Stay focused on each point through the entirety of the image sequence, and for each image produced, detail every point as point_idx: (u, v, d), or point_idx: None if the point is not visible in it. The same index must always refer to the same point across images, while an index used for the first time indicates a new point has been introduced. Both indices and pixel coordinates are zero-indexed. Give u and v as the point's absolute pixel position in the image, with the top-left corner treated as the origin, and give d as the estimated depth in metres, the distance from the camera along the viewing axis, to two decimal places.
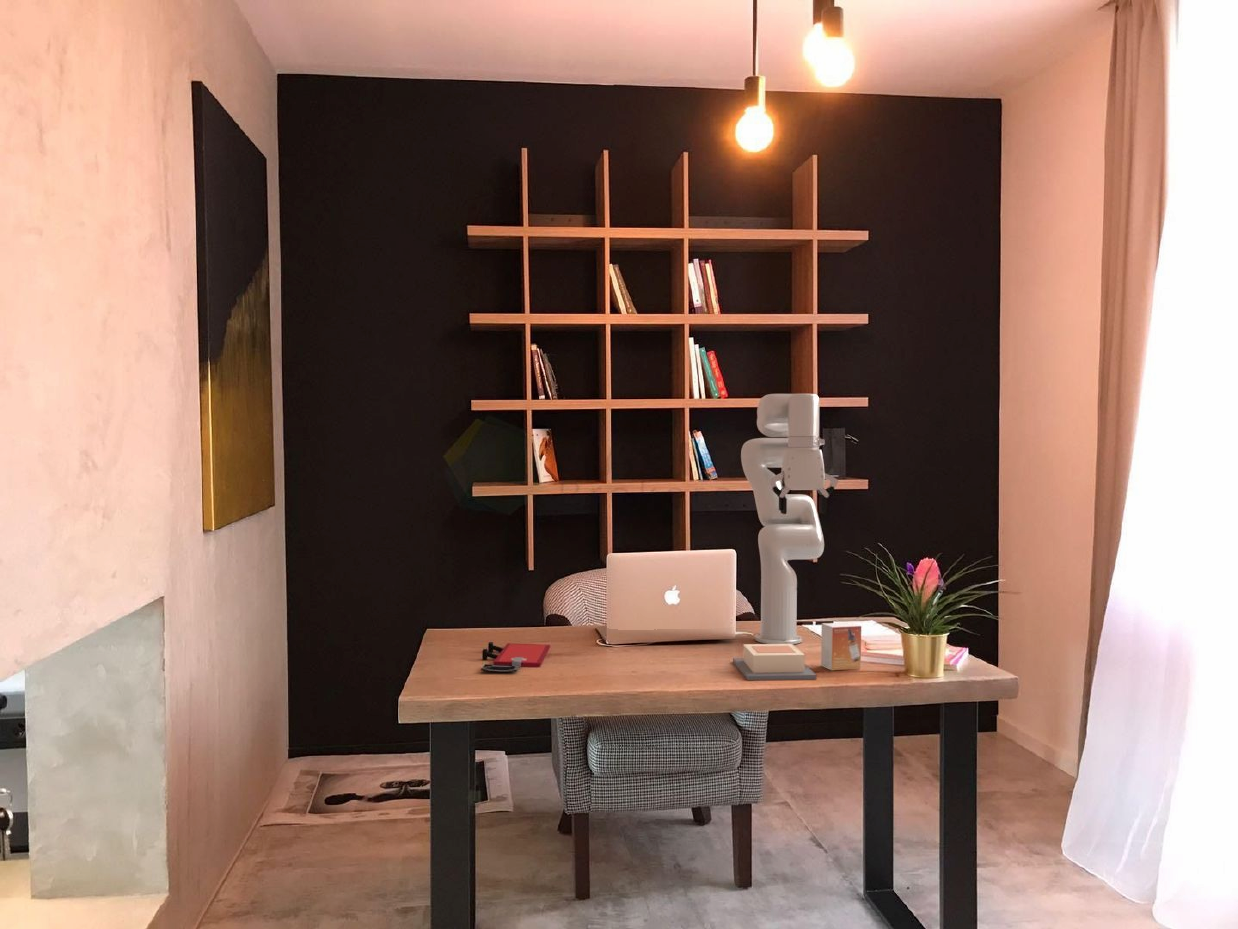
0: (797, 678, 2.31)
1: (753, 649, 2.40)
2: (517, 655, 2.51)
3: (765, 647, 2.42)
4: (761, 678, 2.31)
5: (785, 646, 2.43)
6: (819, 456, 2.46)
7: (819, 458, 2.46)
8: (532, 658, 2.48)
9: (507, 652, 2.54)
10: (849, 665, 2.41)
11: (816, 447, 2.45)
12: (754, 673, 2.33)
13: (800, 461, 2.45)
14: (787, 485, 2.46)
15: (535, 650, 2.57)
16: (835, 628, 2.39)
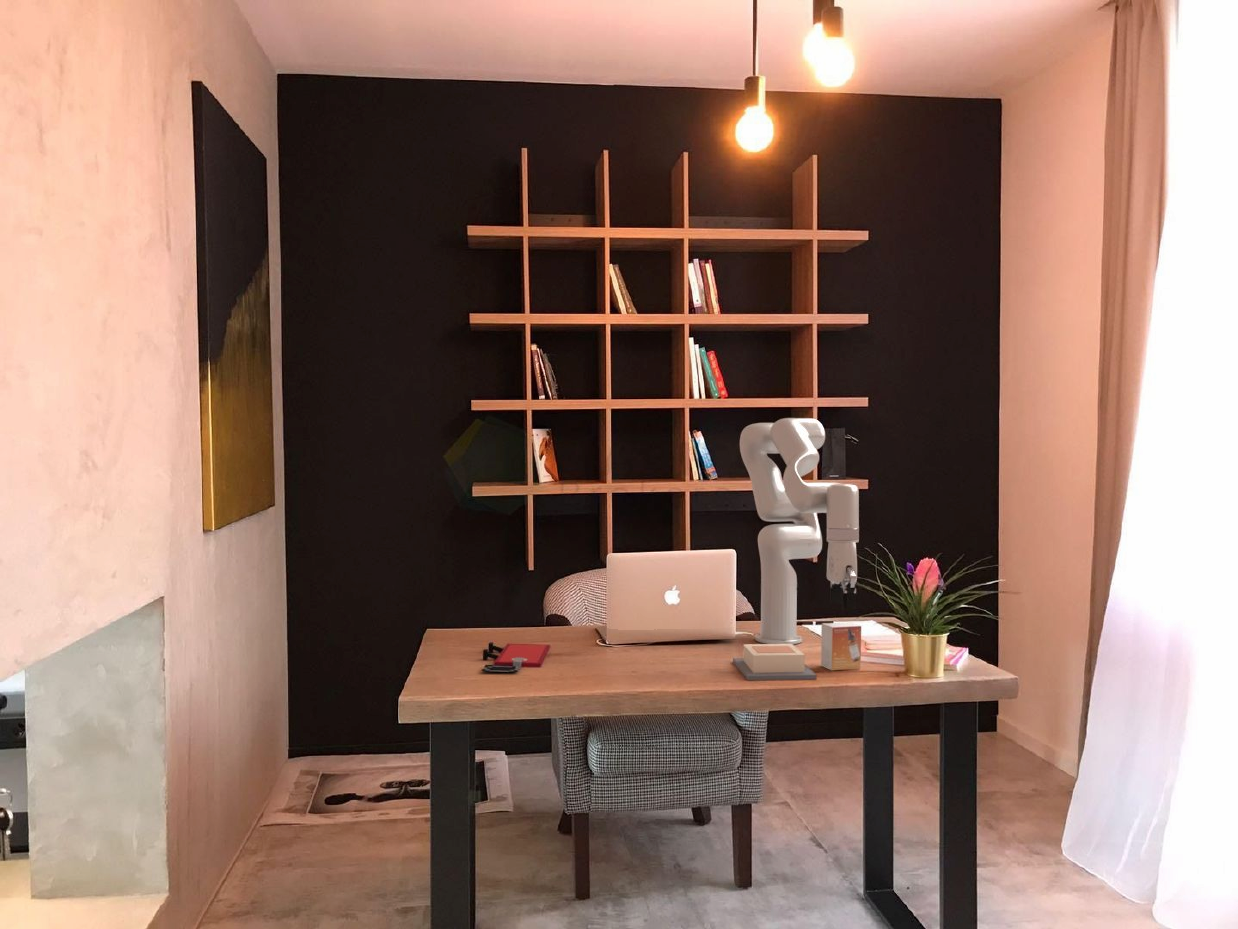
0: (797, 678, 2.31)
1: (753, 649, 2.40)
2: (517, 655, 2.51)
3: (765, 647, 2.42)
4: (761, 678, 2.31)
5: (785, 646, 2.43)
6: None
7: None
8: (533, 658, 2.48)
9: (507, 652, 2.54)
10: (849, 665, 2.41)
11: None
12: (754, 673, 2.33)
13: None
14: (856, 579, 2.38)
15: (535, 650, 2.57)
16: (835, 628, 2.39)
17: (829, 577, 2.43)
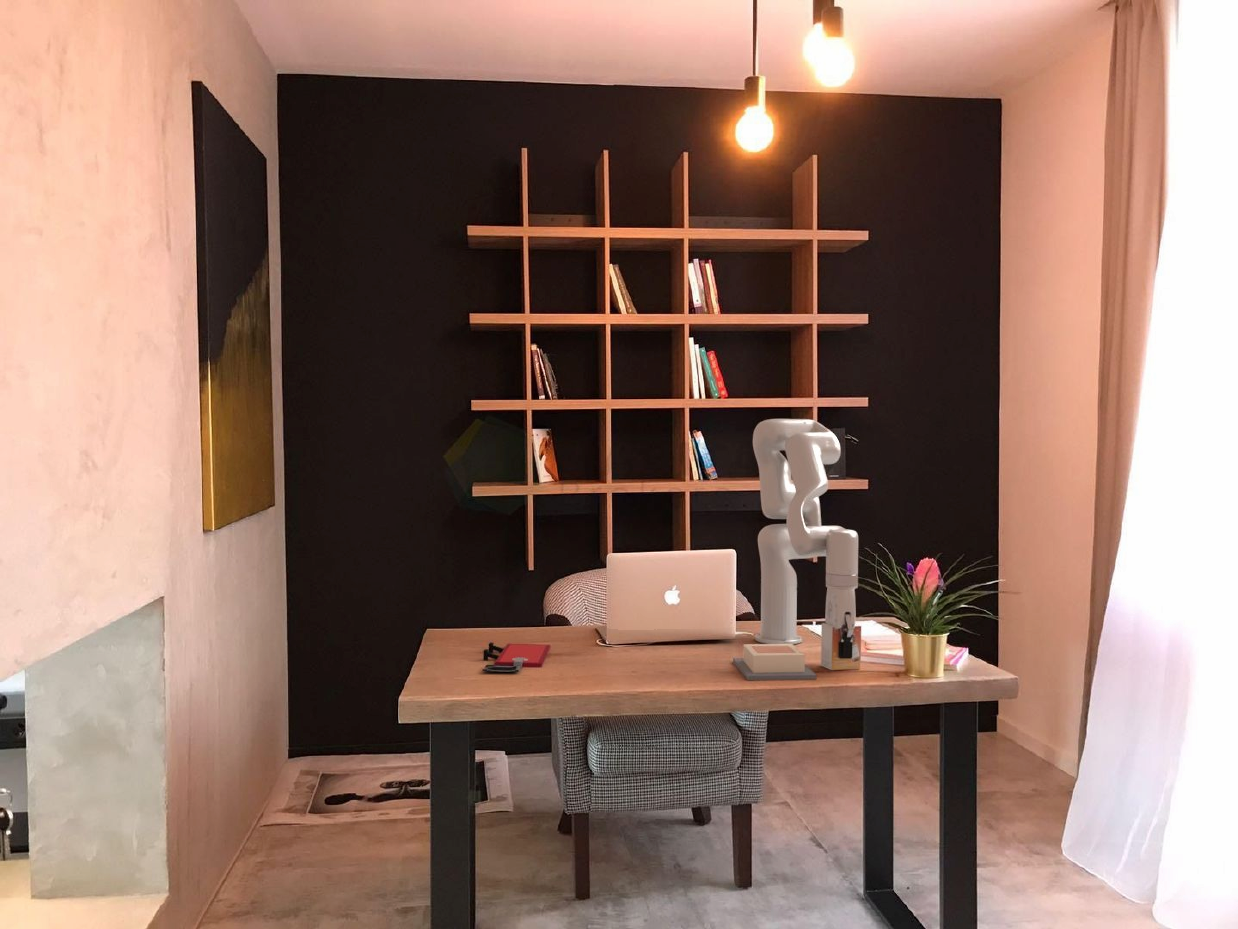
0: (797, 678, 2.31)
1: (753, 649, 2.40)
2: (518, 655, 2.51)
3: (765, 647, 2.42)
4: (761, 678, 2.31)
5: (785, 646, 2.43)
6: None
7: None
8: (533, 658, 2.48)
9: (508, 652, 2.54)
10: (849, 665, 2.41)
11: None
12: (754, 673, 2.33)
13: None
14: (854, 626, 2.39)
15: (536, 650, 2.57)
16: None
17: (828, 621, 2.44)
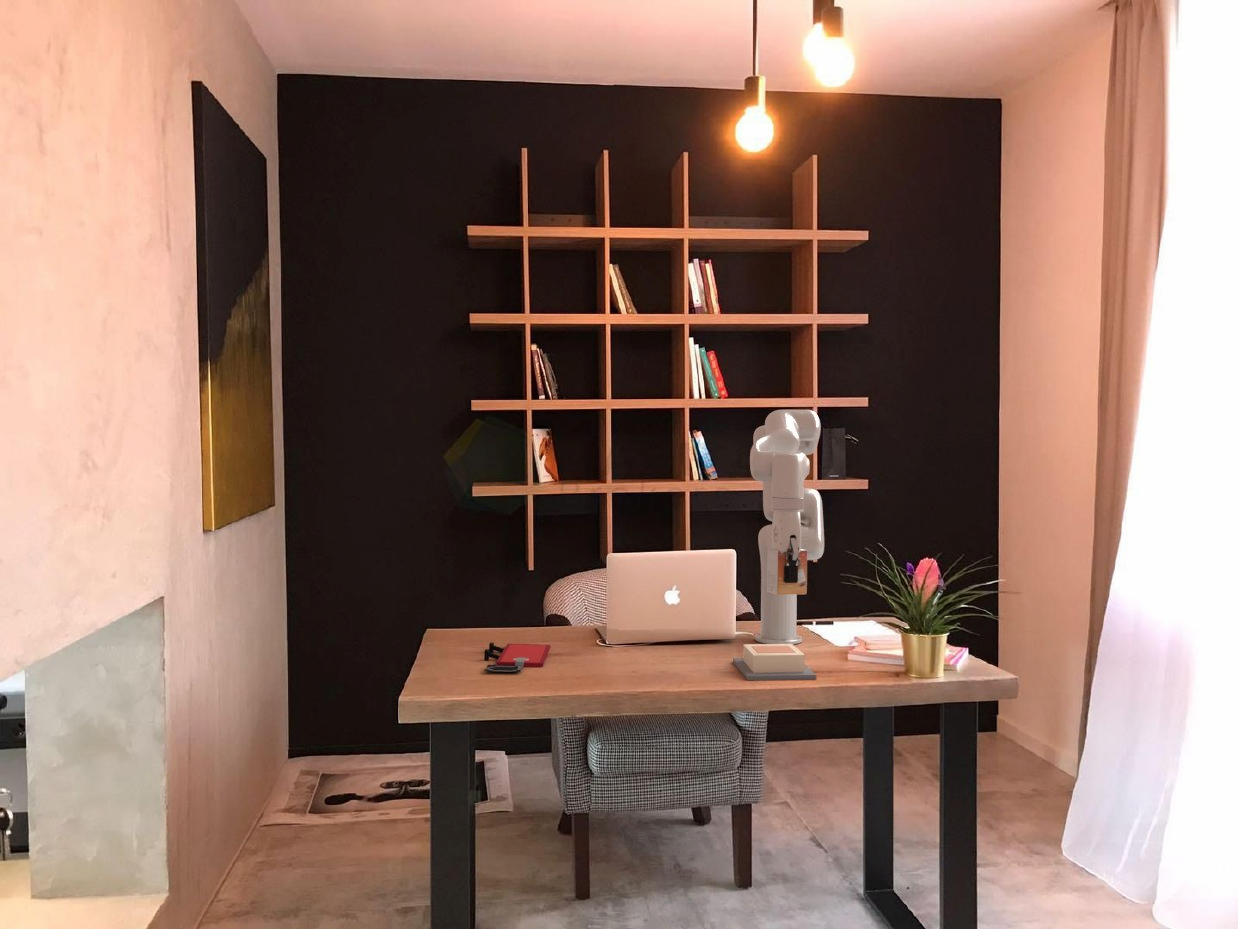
0: (797, 678, 2.31)
1: (753, 649, 2.40)
2: (519, 655, 2.51)
3: (765, 647, 2.42)
4: (761, 678, 2.31)
5: (785, 646, 2.43)
6: None
7: None
8: (534, 658, 2.48)
9: (508, 652, 2.54)
10: (795, 590, 2.37)
11: None
12: (754, 673, 2.33)
13: None
14: (800, 549, 2.35)
15: (536, 650, 2.57)
16: None
17: (773, 547, 2.41)
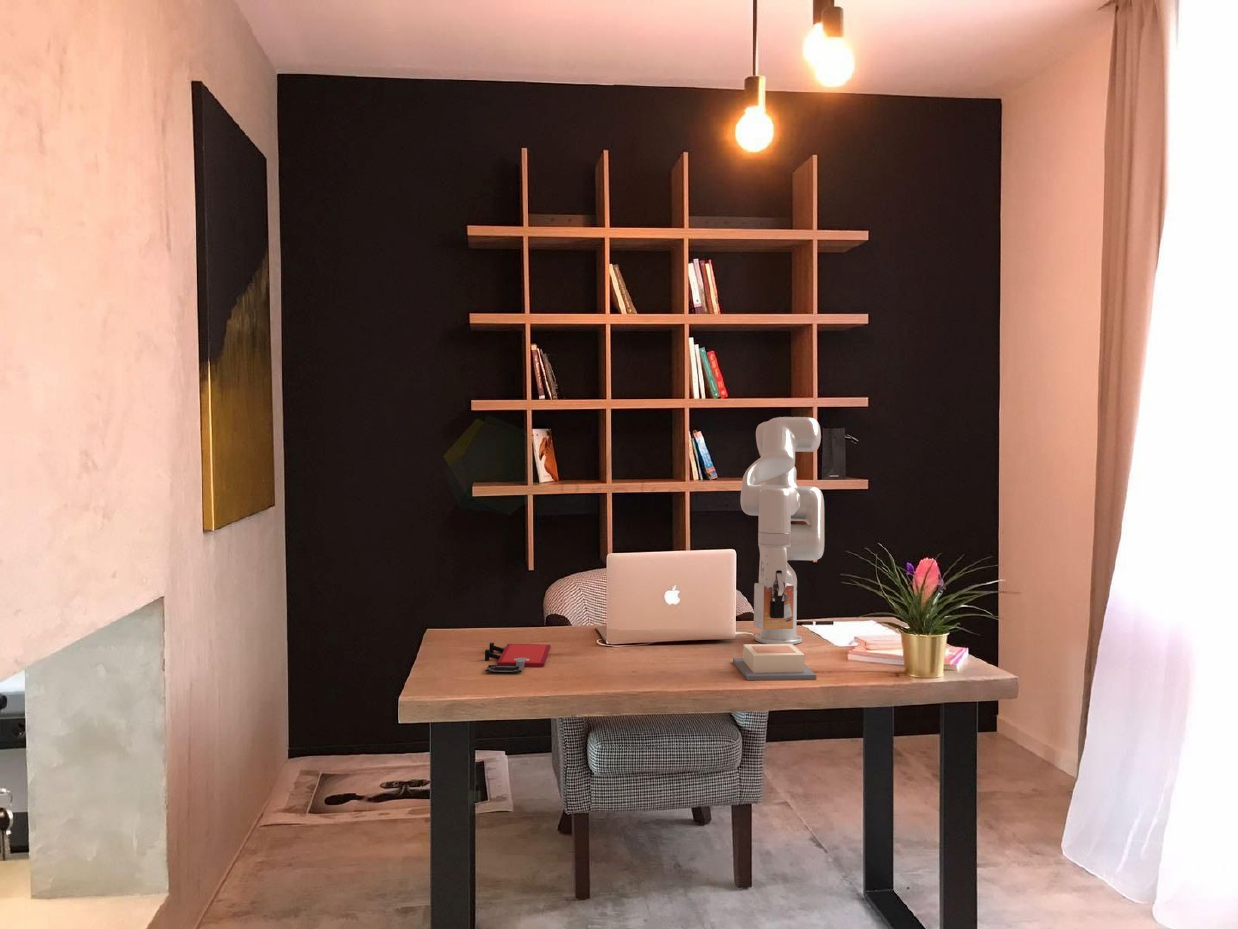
0: (797, 678, 2.31)
1: (753, 649, 2.40)
2: (519, 655, 2.51)
3: (765, 647, 2.42)
4: (761, 678, 2.31)
5: (785, 646, 2.43)
6: None
7: None
8: (535, 658, 2.48)
9: (509, 652, 2.54)
10: (781, 625, 2.37)
11: None
12: (754, 673, 2.33)
13: None
14: (786, 585, 2.35)
15: (536, 650, 2.57)
16: None
17: (760, 581, 2.41)
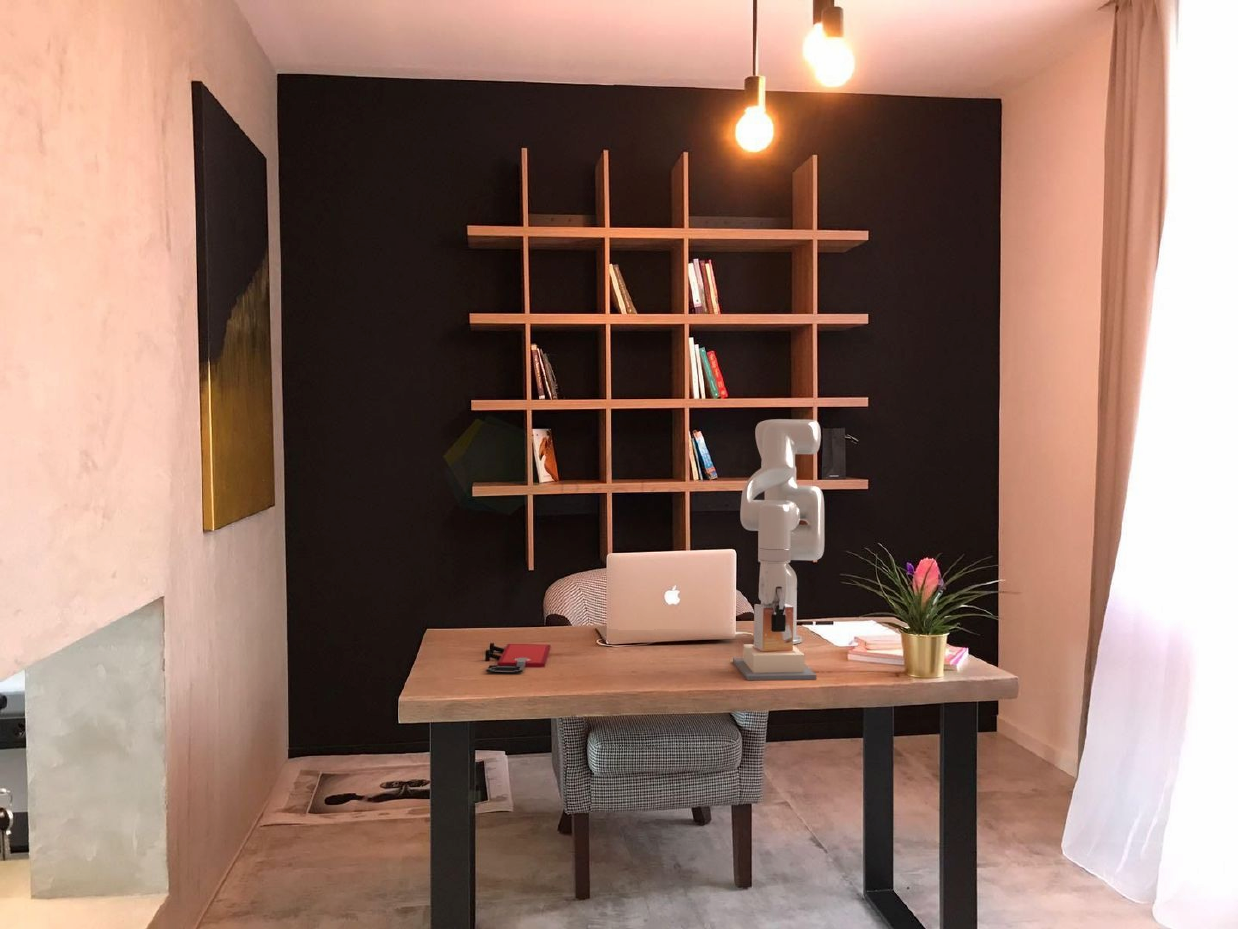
0: (797, 678, 2.31)
1: (753, 649, 2.40)
2: (520, 655, 2.51)
3: None
4: (761, 678, 2.31)
5: None
6: None
7: None
8: (536, 658, 2.48)
9: (509, 653, 2.54)
10: (781, 646, 2.37)
11: None
12: (754, 673, 2.33)
13: None
14: (786, 601, 2.35)
15: (537, 650, 2.57)
16: (766, 608, 2.36)
17: (760, 597, 2.41)
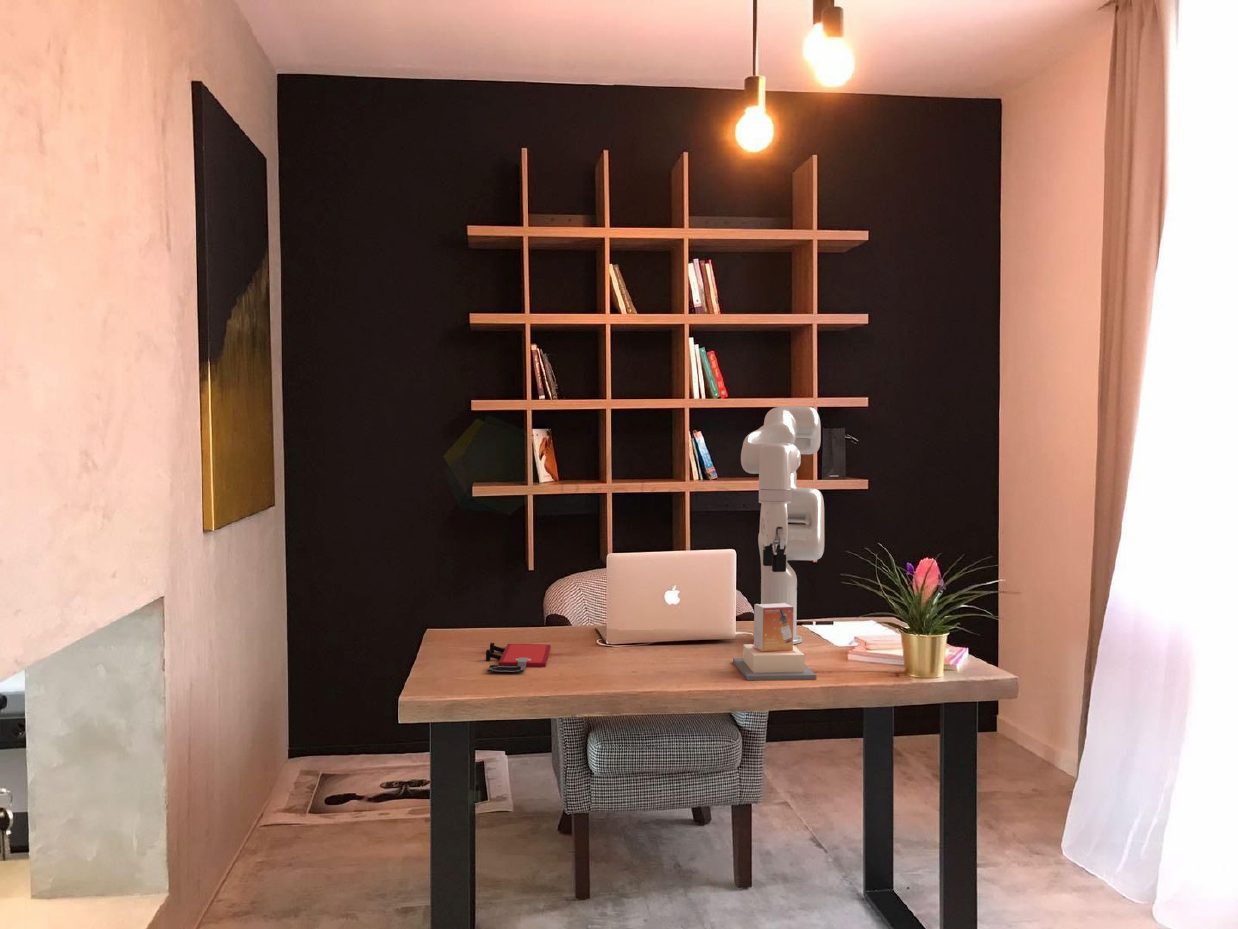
0: (797, 678, 2.31)
1: (753, 649, 2.40)
2: (520, 655, 2.50)
3: None
4: (761, 678, 2.31)
5: None
6: None
7: None
8: (536, 658, 2.48)
9: (510, 652, 2.54)
10: (781, 646, 2.37)
11: None
12: (754, 673, 2.33)
13: None
14: (787, 541, 2.35)
15: (537, 650, 2.57)
16: (766, 608, 2.36)
17: (761, 539, 2.40)
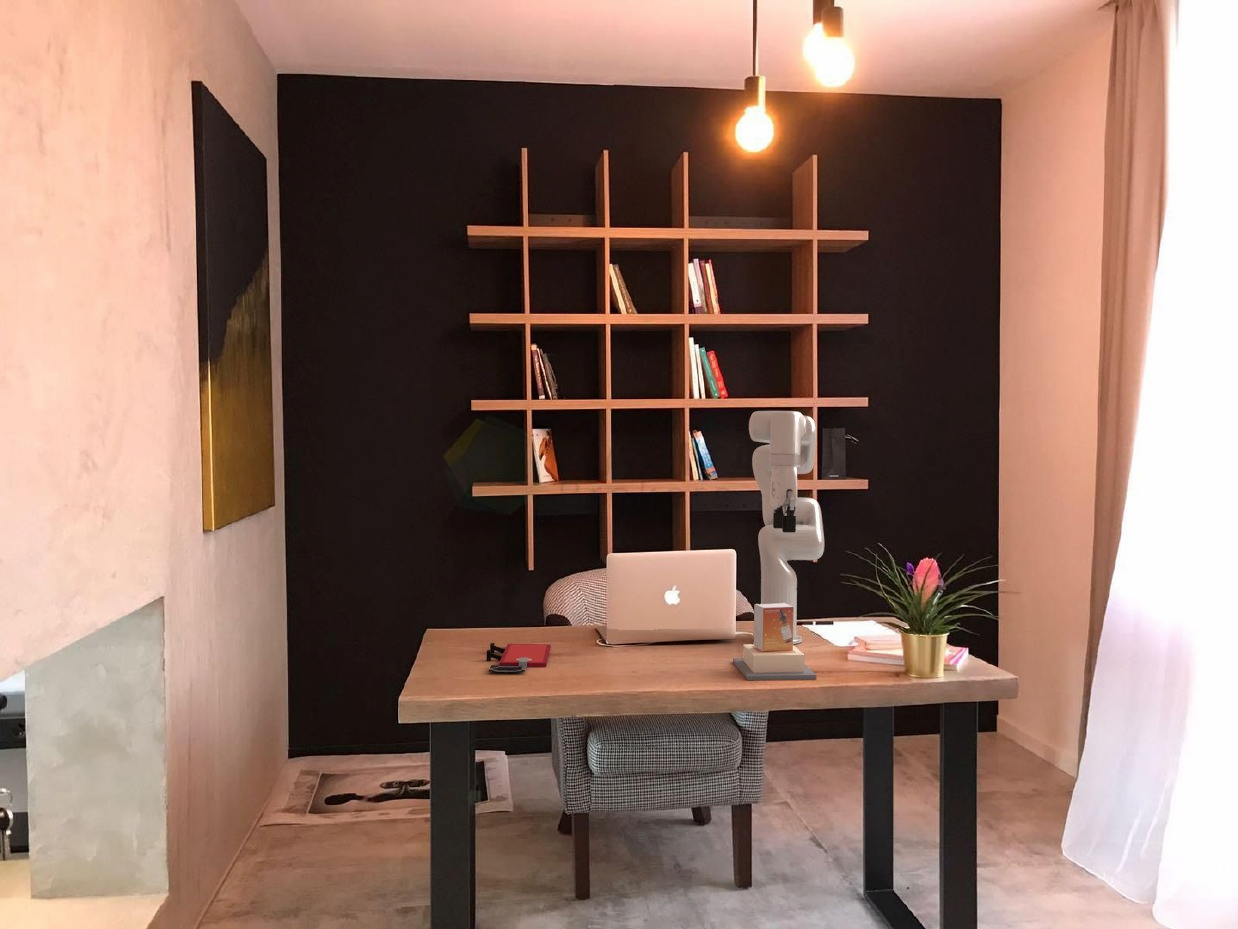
0: (797, 678, 2.31)
1: (753, 649, 2.40)
2: (521, 655, 2.50)
3: None
4: (761, 678, 2.31)
5: None
6: None
7: None
8: (537, 658, 2.48)
9: (510, 652, 2.53)
10: (781, 646, 2.37)
11: None
12: (754, 673, 2.33)
13: None
14: (796, 503, 2.46)
15: (537, 650, 2.57)
16: (766, 608, 2.36)
17: (771, 502, 2.51)
